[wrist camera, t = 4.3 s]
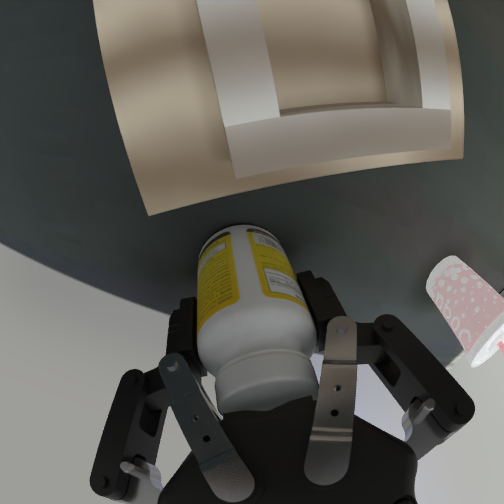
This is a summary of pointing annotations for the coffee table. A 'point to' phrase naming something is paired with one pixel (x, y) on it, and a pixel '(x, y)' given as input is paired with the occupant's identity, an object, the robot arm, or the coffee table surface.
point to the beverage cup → (468, 308)
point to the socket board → (277, 90)
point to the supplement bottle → (253, 322)
